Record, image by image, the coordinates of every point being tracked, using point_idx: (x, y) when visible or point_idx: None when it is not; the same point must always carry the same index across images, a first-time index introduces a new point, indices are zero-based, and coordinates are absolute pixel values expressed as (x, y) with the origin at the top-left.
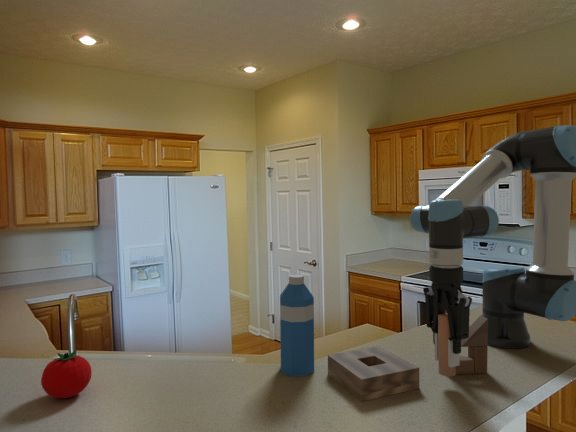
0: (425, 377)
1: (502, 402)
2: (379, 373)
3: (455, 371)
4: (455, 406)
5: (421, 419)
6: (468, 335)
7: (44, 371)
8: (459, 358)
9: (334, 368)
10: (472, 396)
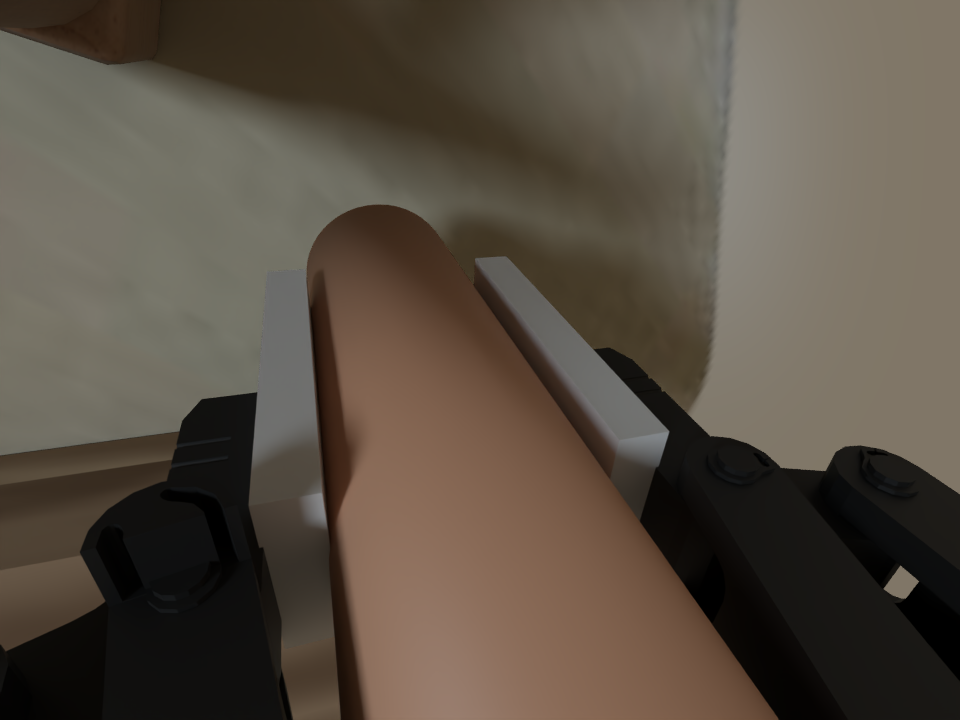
0: (160, 283)
1: (692, 55)
2: (333, 706)
3: (442, 241)
4: None
5: None
6: (938, 489)
7: None
8: (532, 285)
9: None
10: (546, 179)
